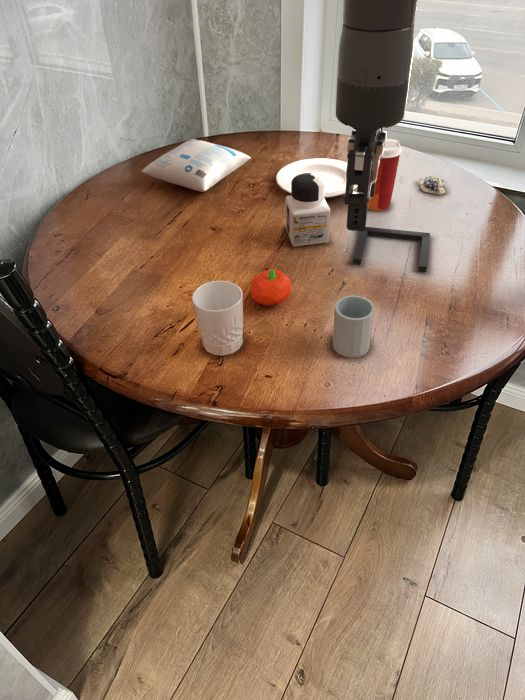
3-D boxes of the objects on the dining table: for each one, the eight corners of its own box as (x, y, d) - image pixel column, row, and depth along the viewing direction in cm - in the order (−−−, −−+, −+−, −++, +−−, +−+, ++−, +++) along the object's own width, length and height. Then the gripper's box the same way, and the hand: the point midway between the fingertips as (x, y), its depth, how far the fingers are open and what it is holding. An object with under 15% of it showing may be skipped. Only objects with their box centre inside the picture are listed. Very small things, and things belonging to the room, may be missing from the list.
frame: (429, 238, 112) (430, 232, 111) (426, 272, 103) (427, 266, 102) (361, 231, 115) (361, 226, 114) (353, 263, 106) (353, 258, 105)
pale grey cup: (371, 335, 91) (376, 298, 85) (367, 360, 87) (371, 322, 81) (335, 330, 92) (338, 293, 87) (329, 354, 88) (332, 316, 82)
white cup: (212, 323, 95) (206, 276, 88) (253, 333, 92) (250, 286, 86) (191, 352, 90) (183, 304, 83) (234, 363, 87) (229, 315, 80)
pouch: (201, 173, 121) (249, 138, 132) (137, 159, 129) (188, 127, 141) (207, 205, 126) (252, 168, 138) (145, 190, 134) (193, 156, 146)
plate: (340, 212, 121) (341, 204, 120) (260, 193, 129) (260, 185, 128) (374, 174, 134) (375, 166, 133) (299, 159, 142) (299, 152, 141)
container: (292, 247, 111) (292, 188, 103) (285, 228, 117) (284, 171, 108) (329, 243, 112) (332, 184, 103) (320, 224, 118) (322, 167, 109)
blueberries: (437, 177, 131) (439, 170, 130) (454, 192, 126) (456, 184, 124) (412, 182, 130) (413, 174, 129) (428, 197, 125) (430, 189, 123)
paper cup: (394, 197, 125) (402, 137, 116) (394, 214, 120) (403, 152, 110) (360, 196, 126) (365, 136, 117) (358, 212, 121) (364, 151, 111)
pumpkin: (241, 302, 99) (239, 273, 94) (270, 282, 103) (269, 253, 99) (271, 318, 95) (270, 289, 91) (299, 296, 99) (300, 267, 95)
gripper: (404, 97, 51) (385, 245, 62) (415, 53, 61) (396, 188, 72) (325, 93, 52) (320, 238, 63) (348, 51, 62) (340, 183, 73)
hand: (360, 212), depth 67 cm, fingers open, 8 cm apart
